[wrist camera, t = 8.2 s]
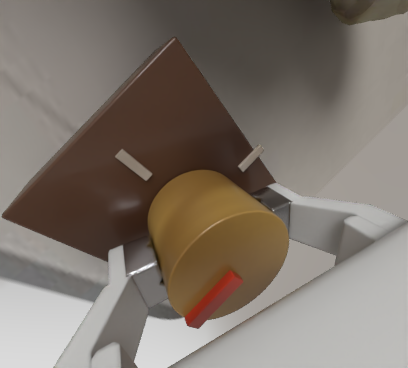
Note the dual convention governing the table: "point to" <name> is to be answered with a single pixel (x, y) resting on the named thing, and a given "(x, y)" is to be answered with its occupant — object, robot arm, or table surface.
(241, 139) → the dimmer panel
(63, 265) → the table surface
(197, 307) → the dimmer knob
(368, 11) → the statue
